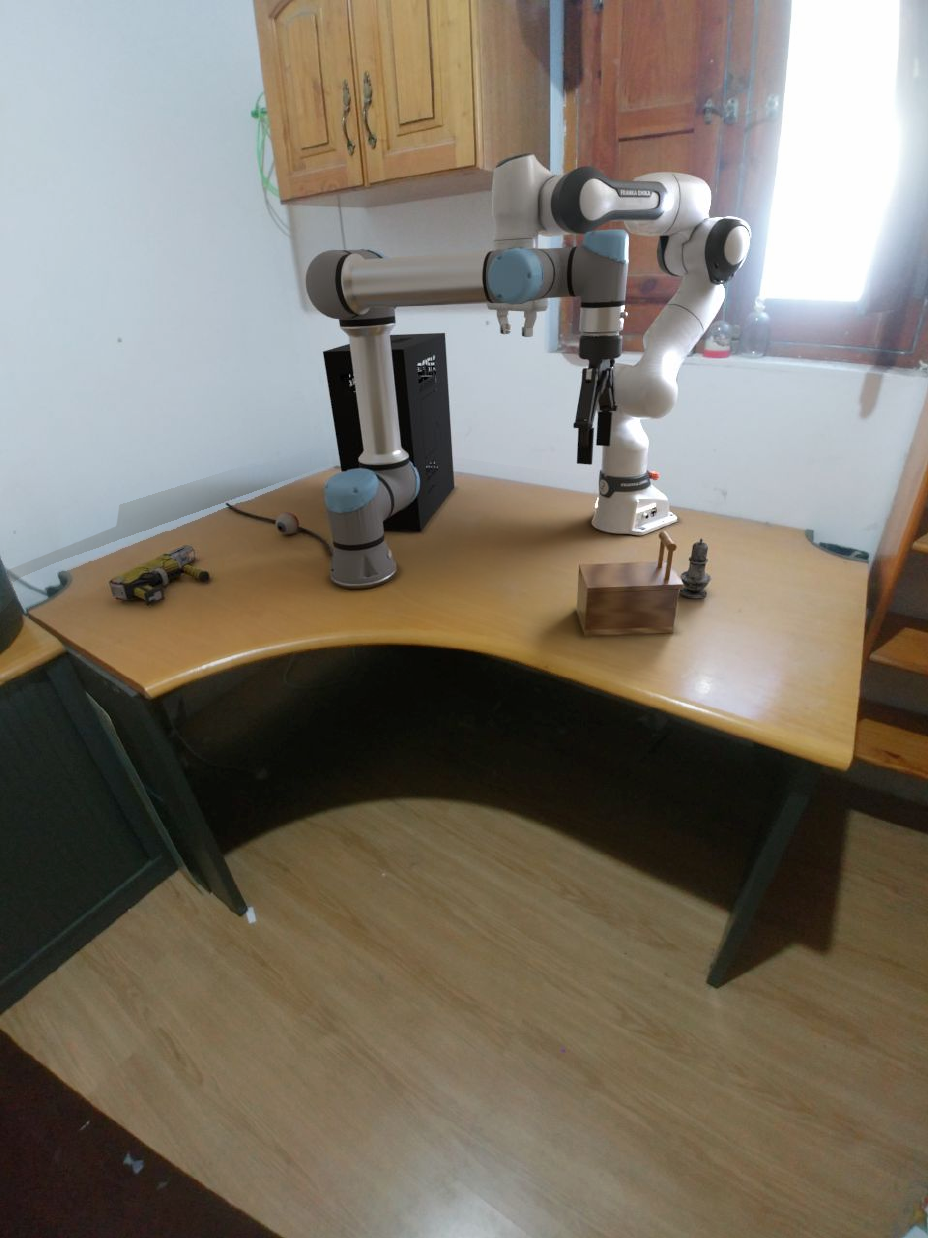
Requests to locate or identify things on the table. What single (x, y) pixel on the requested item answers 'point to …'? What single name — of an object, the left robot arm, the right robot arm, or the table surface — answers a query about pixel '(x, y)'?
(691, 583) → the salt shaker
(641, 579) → the lid
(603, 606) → the chest
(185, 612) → the table surface
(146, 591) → the toy gun
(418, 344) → the black computer tower
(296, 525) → the eyeball
